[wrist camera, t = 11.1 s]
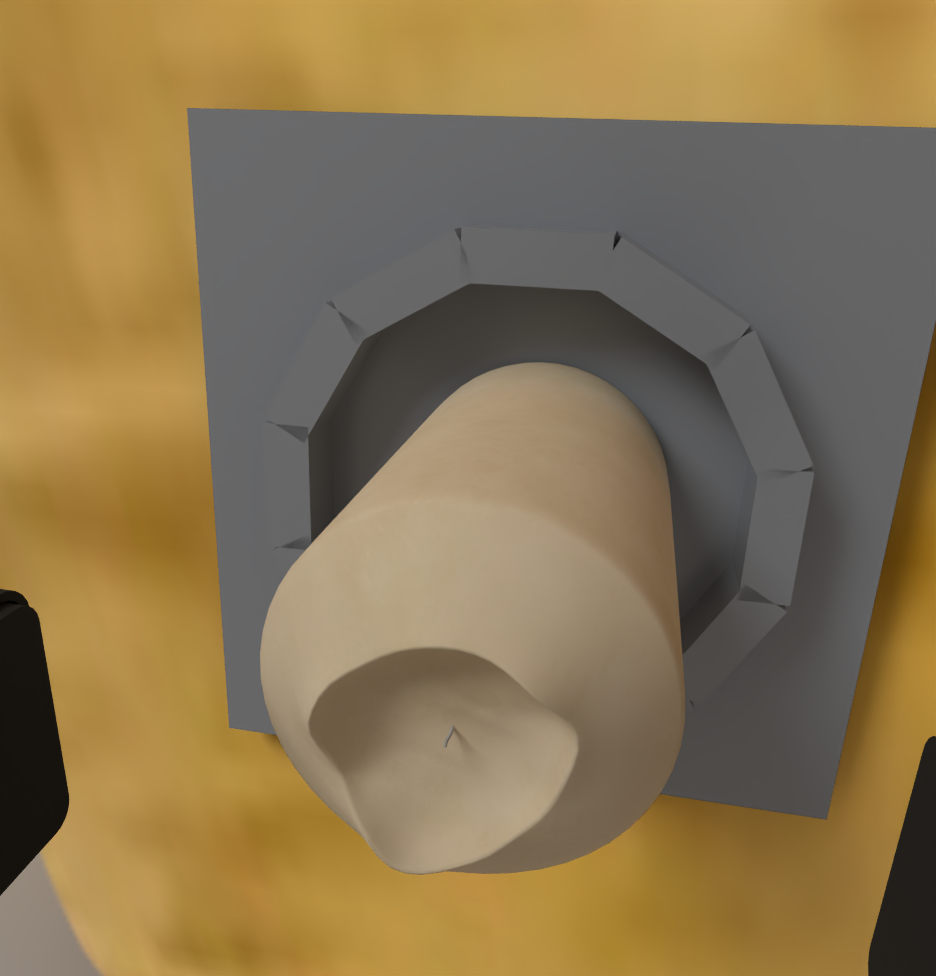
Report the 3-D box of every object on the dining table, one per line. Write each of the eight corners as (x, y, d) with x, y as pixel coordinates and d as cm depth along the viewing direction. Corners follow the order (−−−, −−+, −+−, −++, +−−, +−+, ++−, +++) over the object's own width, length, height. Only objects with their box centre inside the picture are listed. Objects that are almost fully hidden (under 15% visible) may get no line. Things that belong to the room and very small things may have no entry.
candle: (601, 634, 20) (560, 1033, 11) (383, 534, 20) (157, 838, 11) (715, 424, 18) (791, 690, 8) (471, 315, 18) (285, 458, 9)
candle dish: (958, 132, 16) (1011, 123, 14) (818, 791, 21) (840, 866, 19) (210, 111, 19) (148, 101, 16) (245, 706, 24) (202, 762, 21)
